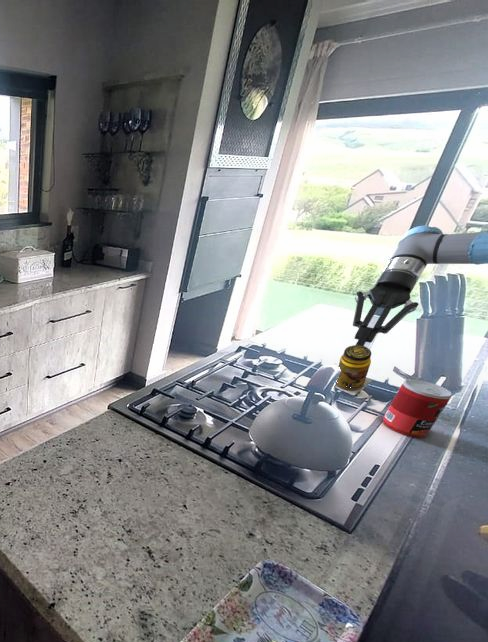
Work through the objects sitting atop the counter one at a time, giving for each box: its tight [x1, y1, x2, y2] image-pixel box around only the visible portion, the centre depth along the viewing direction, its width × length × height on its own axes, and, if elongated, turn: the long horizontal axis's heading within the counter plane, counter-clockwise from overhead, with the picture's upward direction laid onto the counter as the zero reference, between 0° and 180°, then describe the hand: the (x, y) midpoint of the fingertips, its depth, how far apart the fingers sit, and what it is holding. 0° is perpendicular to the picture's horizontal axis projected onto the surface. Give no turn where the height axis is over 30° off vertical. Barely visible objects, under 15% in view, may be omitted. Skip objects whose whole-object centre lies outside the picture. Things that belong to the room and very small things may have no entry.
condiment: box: [335, 344, 373, 396], centre depth 108 cm, size 7×8×12 cm
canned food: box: [382, 378, 453, 438], centre depth 92 cm, size 8×8×11 cm
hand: (357, 349), depth 107 cm, fingers closed
